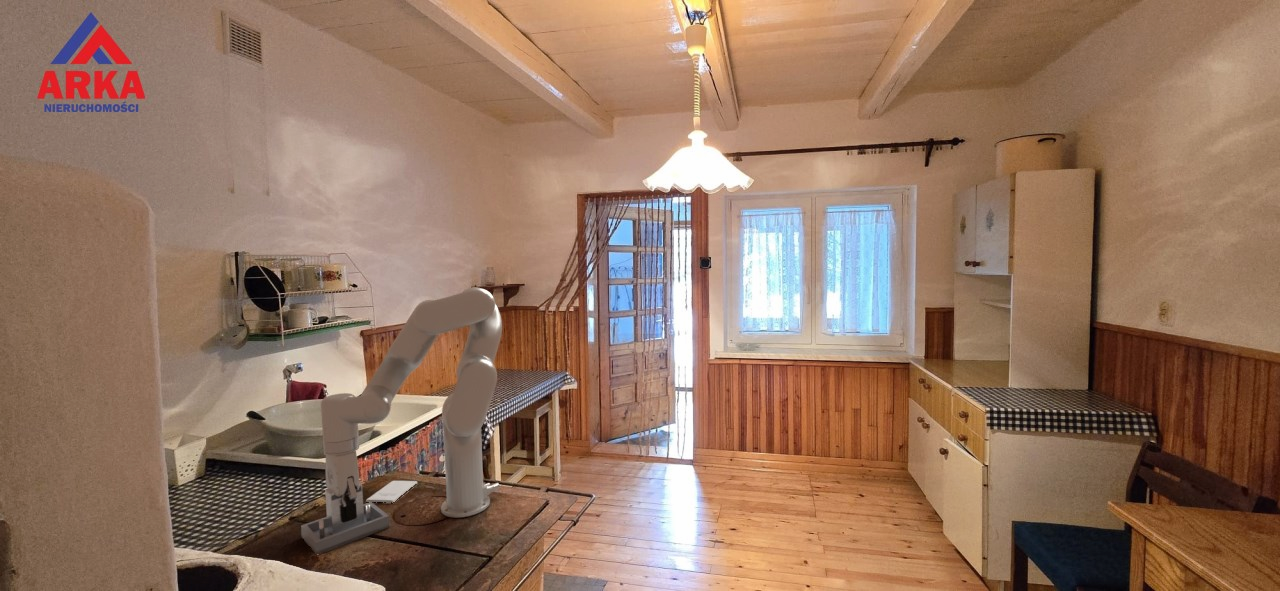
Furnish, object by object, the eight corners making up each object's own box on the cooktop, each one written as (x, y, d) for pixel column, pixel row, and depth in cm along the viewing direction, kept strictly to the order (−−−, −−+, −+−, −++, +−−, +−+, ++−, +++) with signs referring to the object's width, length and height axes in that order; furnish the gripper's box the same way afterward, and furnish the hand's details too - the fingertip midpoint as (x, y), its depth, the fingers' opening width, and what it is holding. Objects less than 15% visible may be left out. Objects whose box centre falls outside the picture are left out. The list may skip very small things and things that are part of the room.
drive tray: (371, 512, 134) (370, 494, 134) (389, 527, 126) (388, 508, 126) (301, 537, 122) (300, 517, 122) (316, 555, 114) (315, 534, 114)
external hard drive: (417, 486, 151) (393, 505, 139) (392, 485, 152) (365, 504, 140) (417, 481, 151) (393, 499, 139) (391, 480, 152) (365, 499, 140)
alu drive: (358, 518, 128) (356, 480, 127) (364, 523, 125) (362, 484, 124) (327, 529, 123) (324, 489, 122) (333, 535, 120) (330, 494, 119)
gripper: (313, 441, 126) (318, 512, 127) (335, 457, 114) (340, 534, 115) (346, 433, 131) (350, 501, 132) (370, 448, 120) (375, 522, 121)
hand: (345, 516), depth 124 cm, fingers open, 4 cm apart
